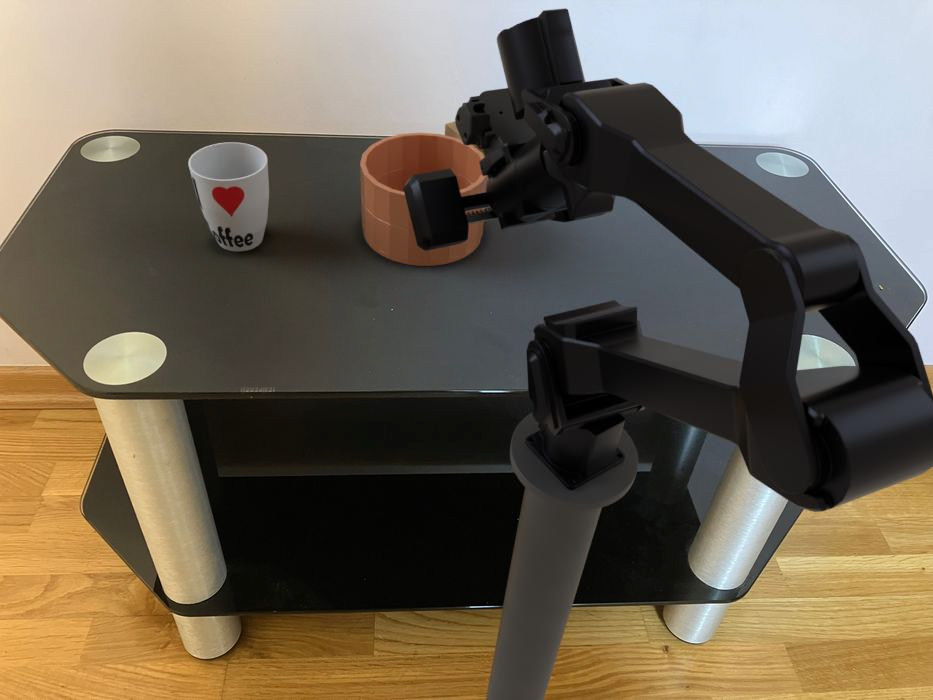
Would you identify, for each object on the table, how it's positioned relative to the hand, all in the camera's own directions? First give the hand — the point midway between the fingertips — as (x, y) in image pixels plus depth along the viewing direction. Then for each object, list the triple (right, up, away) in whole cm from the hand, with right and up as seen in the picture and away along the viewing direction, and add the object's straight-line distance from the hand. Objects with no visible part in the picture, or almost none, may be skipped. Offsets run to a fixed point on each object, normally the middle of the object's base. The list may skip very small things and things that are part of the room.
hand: (480, 217), depth 76 cm
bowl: (-7, +1, +17) cm, 18 cm away
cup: (-27, 0, +14) cm, 30 cm away
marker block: (-2, +14, +31) cm, 34 cm away
